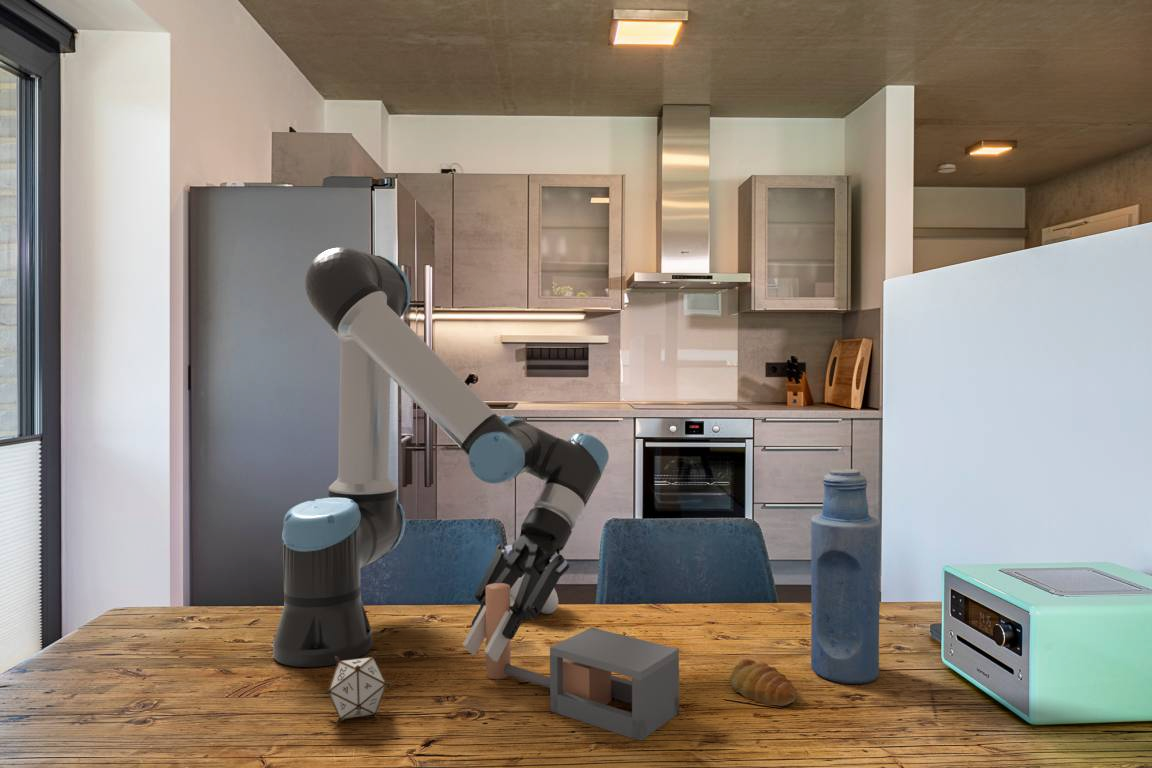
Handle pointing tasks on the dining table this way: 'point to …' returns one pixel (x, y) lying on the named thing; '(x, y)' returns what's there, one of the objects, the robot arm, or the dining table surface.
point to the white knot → (549, 605)
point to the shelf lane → (619, 682)
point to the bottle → (845, 582)
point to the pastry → (762, 683)
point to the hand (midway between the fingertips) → (479, 652)
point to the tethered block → (575, 674)
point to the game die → (356, 687)
